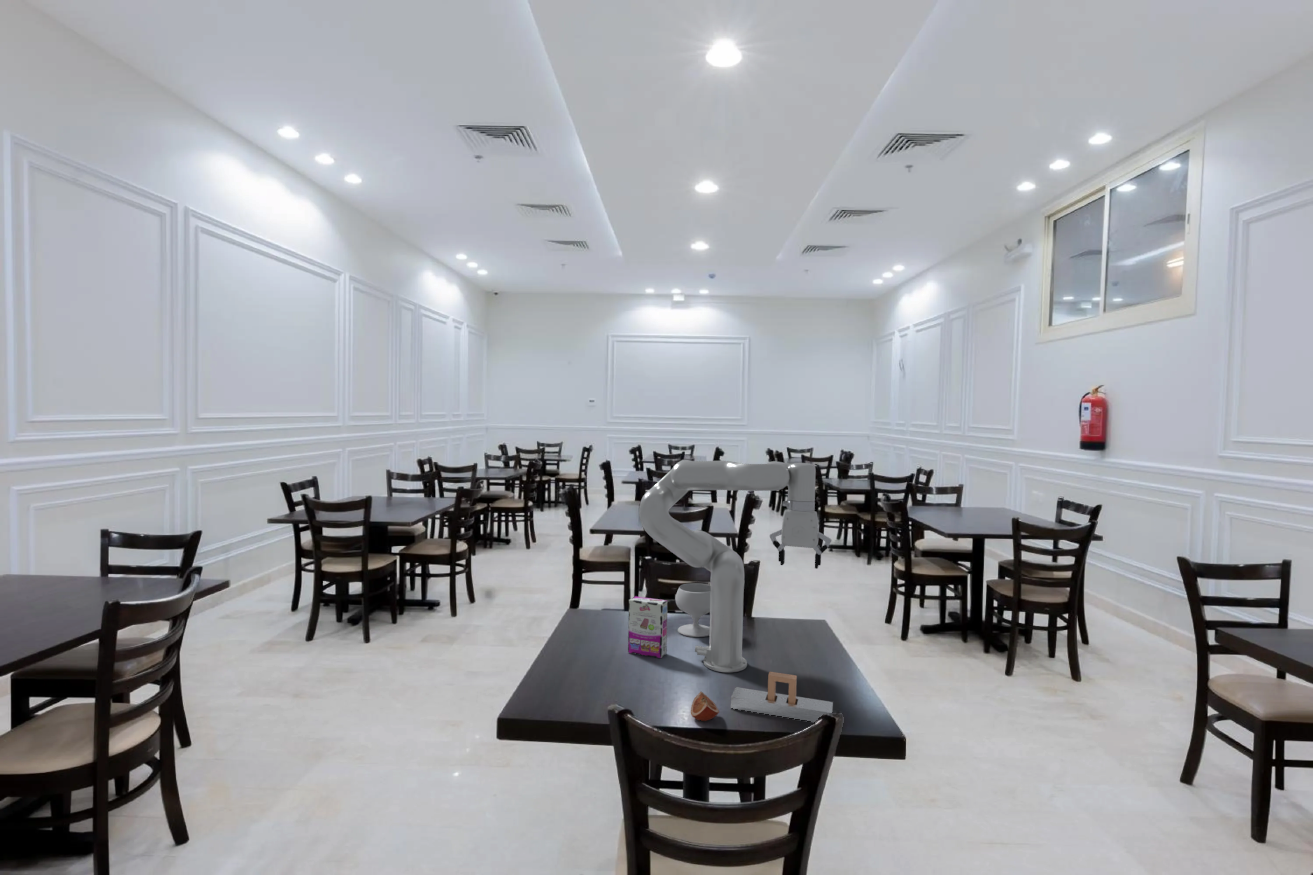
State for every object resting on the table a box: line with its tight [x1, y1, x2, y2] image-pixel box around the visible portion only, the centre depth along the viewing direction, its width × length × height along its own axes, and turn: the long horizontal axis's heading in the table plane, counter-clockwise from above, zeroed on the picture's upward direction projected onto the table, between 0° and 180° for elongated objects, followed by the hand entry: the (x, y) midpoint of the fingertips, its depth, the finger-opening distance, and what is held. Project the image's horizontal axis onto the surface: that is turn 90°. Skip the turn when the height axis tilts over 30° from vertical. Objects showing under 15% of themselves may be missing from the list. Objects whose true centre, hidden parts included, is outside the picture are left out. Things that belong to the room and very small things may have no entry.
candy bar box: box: [627, 595, 669, 659], centre depth 189 cm, size 11×5×16 cm, turn 68°
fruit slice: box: [690, 691, 720, 722], centre depth 149 cm, size 8×7×5 cm
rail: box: [730, 686, 834, 724], centre depth 153 cm, size 24×6×3 cm, turn 72°
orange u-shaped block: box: [767, 671, 798, 705], centre depth 153 cm, size 7×2×9 cm, turn 72°
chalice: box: [675, 582, 710, 638], centre depth 209 cm, size 14×14×15 cm
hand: (799, 565), depth 179 cm, fingers open, 9 cm apart
